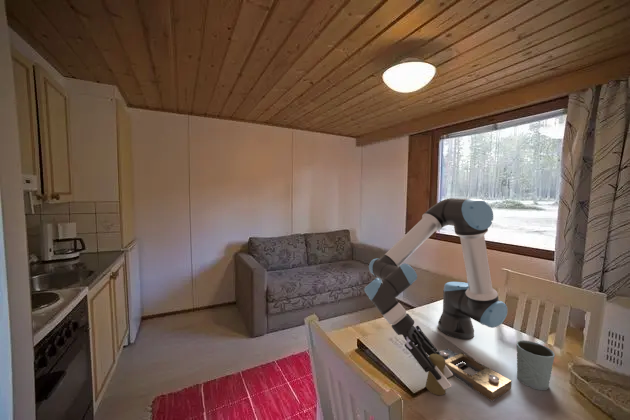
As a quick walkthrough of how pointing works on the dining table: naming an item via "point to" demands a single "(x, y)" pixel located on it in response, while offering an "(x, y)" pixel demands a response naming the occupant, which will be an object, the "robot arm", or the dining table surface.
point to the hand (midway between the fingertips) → (448, 381)
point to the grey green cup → (534, 364)
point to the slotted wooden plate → (477, 375)
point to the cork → (431, 381)
